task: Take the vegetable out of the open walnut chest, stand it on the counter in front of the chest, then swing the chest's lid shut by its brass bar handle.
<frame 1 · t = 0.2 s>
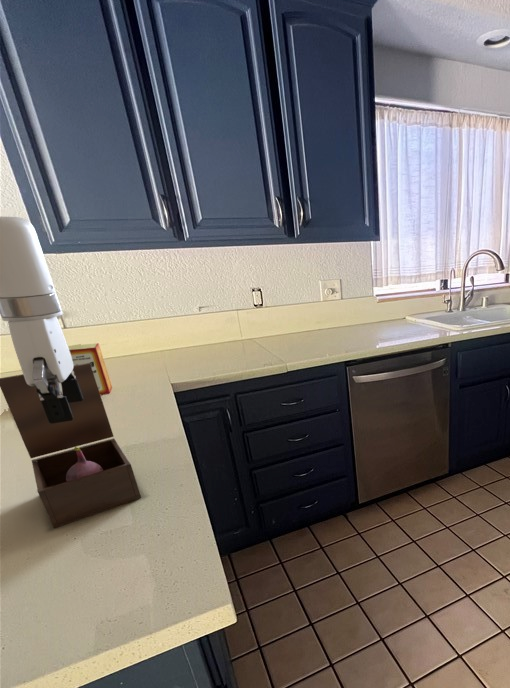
hand: (67, 411, 72), 21 cm above the counter, tool pointing down, fingers open, 9 cm apart
chest: (92, 495, 87), on the counter
vegetable: (91, 492, 87), point 1 cm above the counter, touching chest
baking soda box: (95, 393, 145), on the counter
lid: (59, 407, 87), point 16 cm above the counter, hinge at 90.0°
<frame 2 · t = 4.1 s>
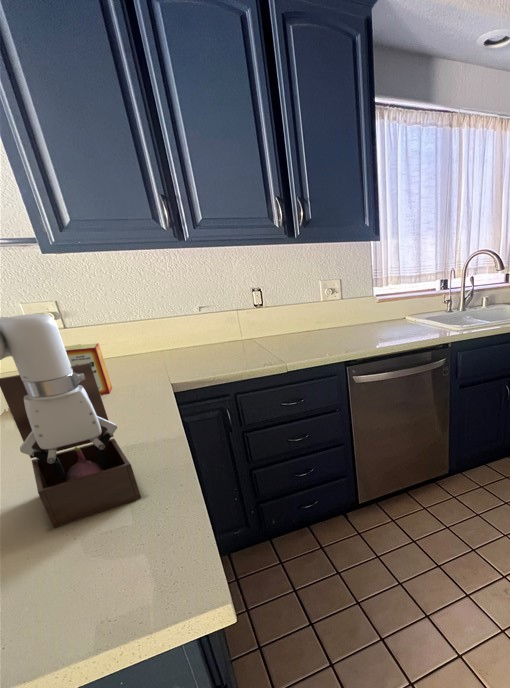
hand: (83, 470, 85), 6 cm above the counter, tool pointing down, fingers closed on vegetable, 6 cm apart
vegetable: (91, 492, 87), point 1 cm above the counter, touching chest, gripper
everything else where it was.
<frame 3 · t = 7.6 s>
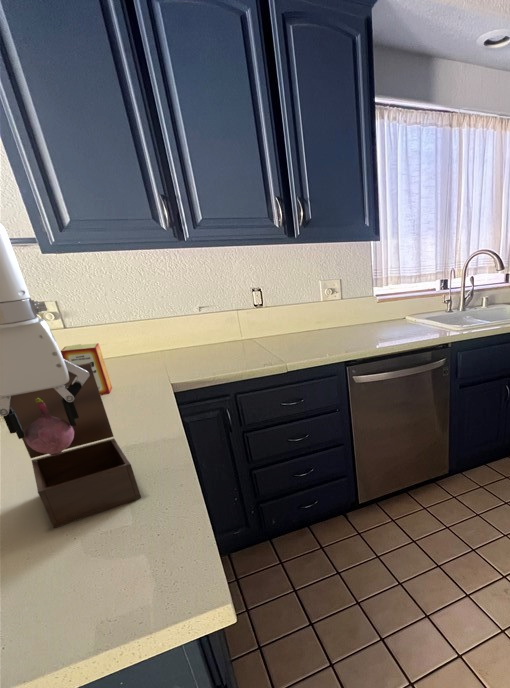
hand: (47, 428, 68), 20 cm above the counter, tool pointing down, fingers closed on vegetable, 6 cm apart
vegetable: (58, 457, 70), point 15 cm above the counter, touching gripper
everything else where it was.
when the fingers open (5 cm above the counter, at t = 11.5 s): vegetable stays where it is, on the counter.
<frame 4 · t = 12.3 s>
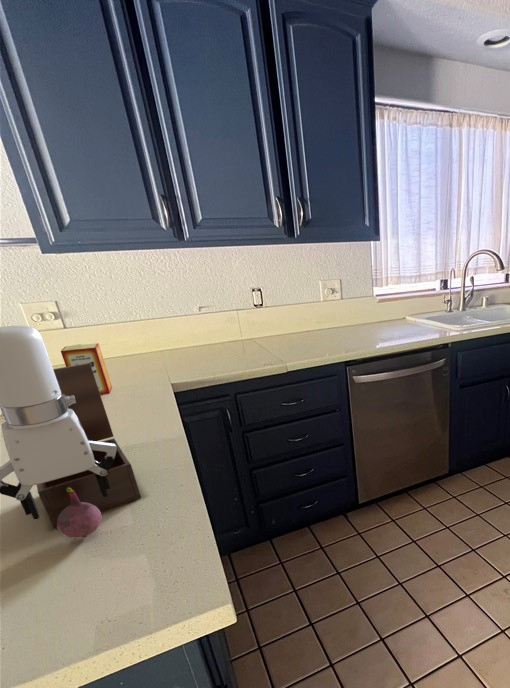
hand: (71, 504, 72), 7 cm above the counter, tool pointing down, fingers open, 9 cm apart
vegetable: (87, 538, 75), on the counter
everything else where it was.
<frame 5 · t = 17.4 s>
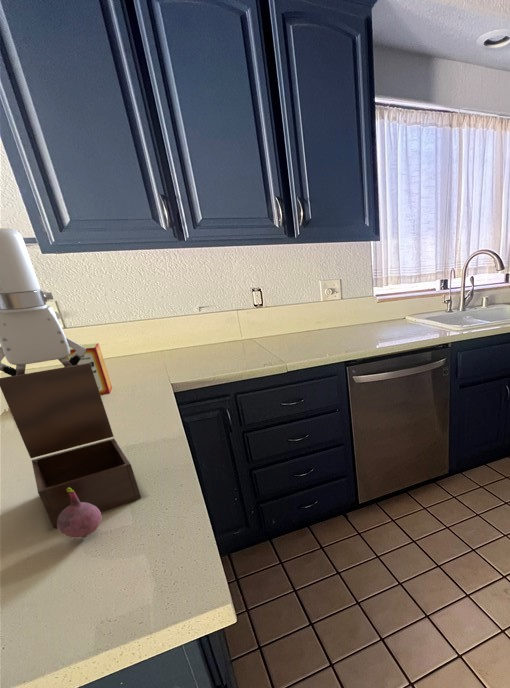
hand: (53, 391, 87), 19 cm above the counter, tool pointing down, fingers closed on lid, 6 cm apart
lid: (59, 407, 87), point 16 cm above the counter, hinge at 90.0°, touching gripper
everything else where it was.
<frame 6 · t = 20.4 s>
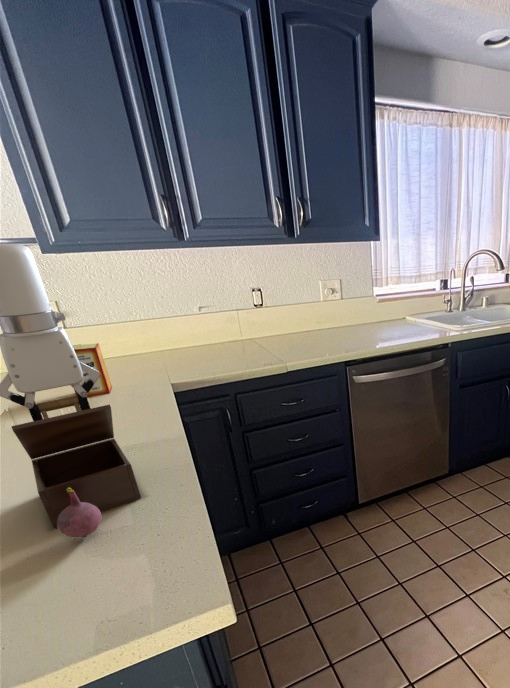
hand: (64, 419, 80), 17 cm above the counter, tool pointing down, fingers closed on lid, 6 cm apart
lid: (65, 423, 83), point 15 cm above the counter, hinge at 40.7°, touching gripper
everything else where it was.
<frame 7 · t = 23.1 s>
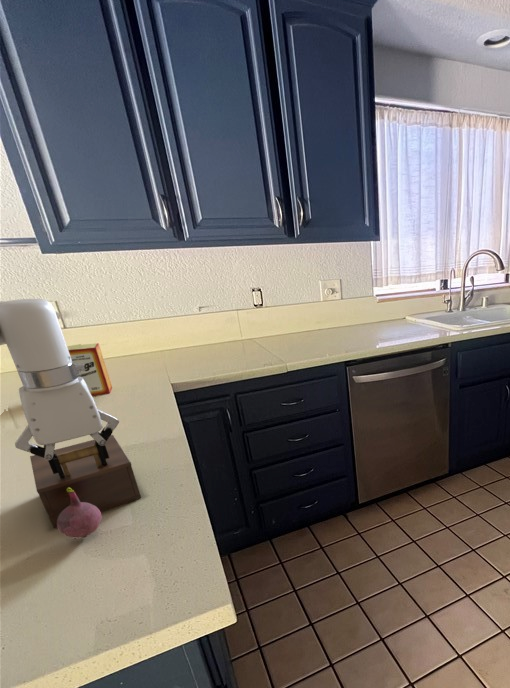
hand: (83, 468, 79), 9 cm above the counter, tool pointing down, fingers closed on lid, 6 cm apart
lid: (76, 451, 82), point 10 cm above the counter, hinge at -0.2°, touching chest, gripper
everything else where it was.
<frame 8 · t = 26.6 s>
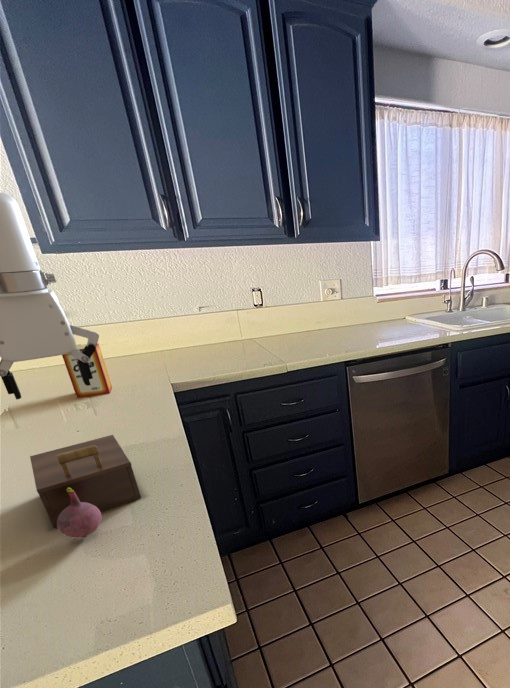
hand: (54, 390, 72), 24 cm above the counter, tool pointing down, fingers open, 9 cm apart
lid: (76, 451, 82), point 10 cm above the counter, hinge at -0.2°, touching chest
everything else where it was.
at the end: vegetable inside the target area (0.0 cm from its centre), on the counter; vegetable tilted 0°; lid at +0° (first picture: +90°) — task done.
